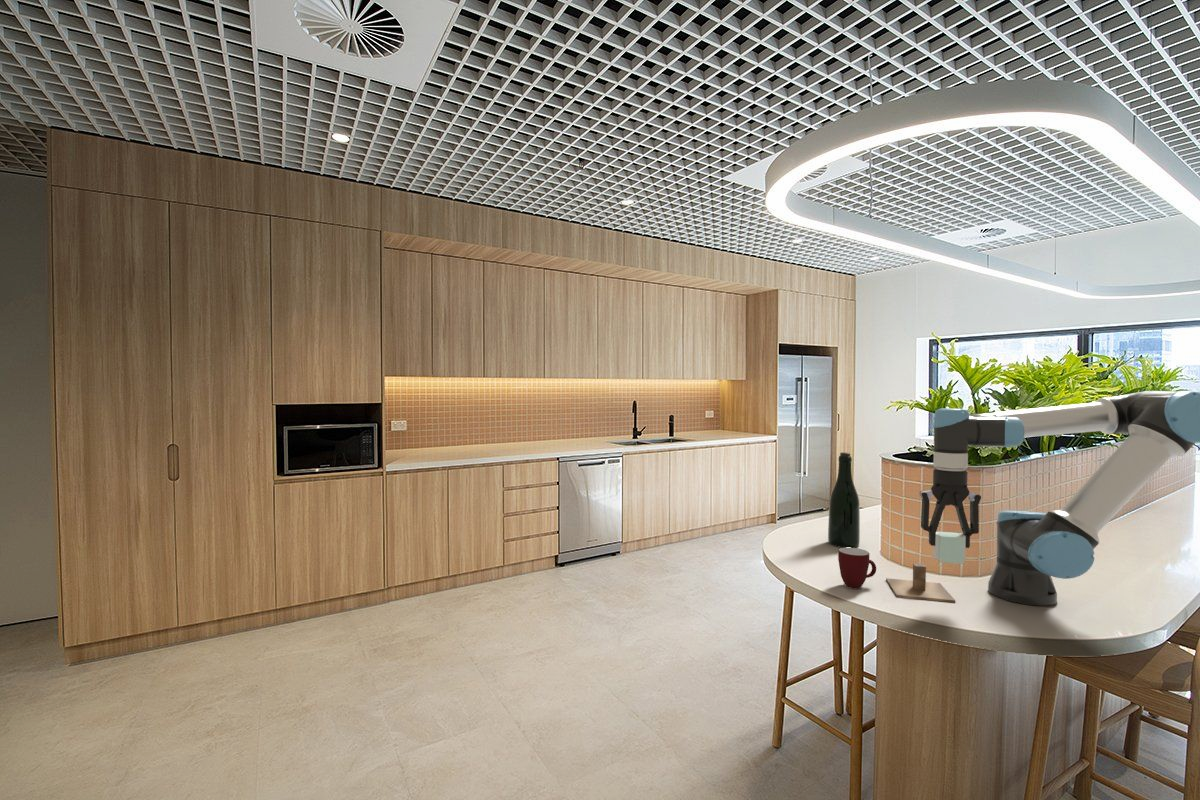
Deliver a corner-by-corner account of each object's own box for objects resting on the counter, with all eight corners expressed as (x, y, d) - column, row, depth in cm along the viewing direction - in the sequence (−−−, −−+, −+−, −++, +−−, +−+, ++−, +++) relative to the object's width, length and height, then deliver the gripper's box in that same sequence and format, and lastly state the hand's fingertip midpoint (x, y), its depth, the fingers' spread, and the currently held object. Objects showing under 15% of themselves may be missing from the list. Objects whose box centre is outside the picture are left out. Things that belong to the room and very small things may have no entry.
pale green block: (957, 558, 151) (957, 532, 151) (963, 563, 146) (964, 537, 146) (934, 556, 152) (934, 531, 152) (940, 562, 147) (940, 536, 147)
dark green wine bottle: (822, 540, 213) (824, 450, 212) (849, 540, 214) (851, 450, 213) (837, 548, 202) (838, 454, 201) (865, 548, 203) (867, 454, 203)
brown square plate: (939, 585, 166) (940, 560, 166) (955, 602, 152) (956, 575, 152) (886, 580, 170) (886, 555, 169) (896, 596, 156) (897, 570, 156)
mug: (863, 580, 169) (864, 546, 169) (883, 589, 162) (883, 554, 161) (831, 582, 167) (832, 548, 167) (849, 592, 159) (850, 556, 159)
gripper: (985, 468, 149) (984, 557, 150) (907, 465, 154) (906, 552, 155) (996, 472, 142) (995, 566, 143) (914, 469, 147) (912, 560, 148)
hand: (948, 558), depth 149 cm, fingers closed on pale green block, 5 cm apart
